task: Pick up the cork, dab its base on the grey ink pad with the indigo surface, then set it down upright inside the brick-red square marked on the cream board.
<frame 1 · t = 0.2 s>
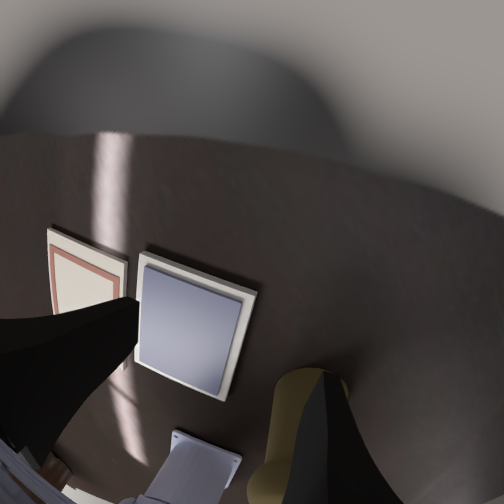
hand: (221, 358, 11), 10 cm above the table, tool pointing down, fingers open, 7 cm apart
cork: (311, 393, 23), on the table
marked board: (85, 300, 26), on the table
plant pot: (56, 459, 53), on the table
ink pad: (187, 331, 24), on the table
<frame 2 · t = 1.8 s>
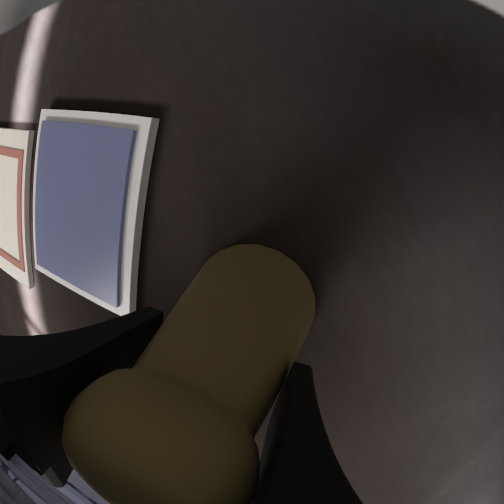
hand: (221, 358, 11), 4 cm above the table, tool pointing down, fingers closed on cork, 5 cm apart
cork: (254, 302, 15), on the table, touching gripper
marked board: (0, 200, 18), on the table
ink pad: (82, 206, 16), on the table
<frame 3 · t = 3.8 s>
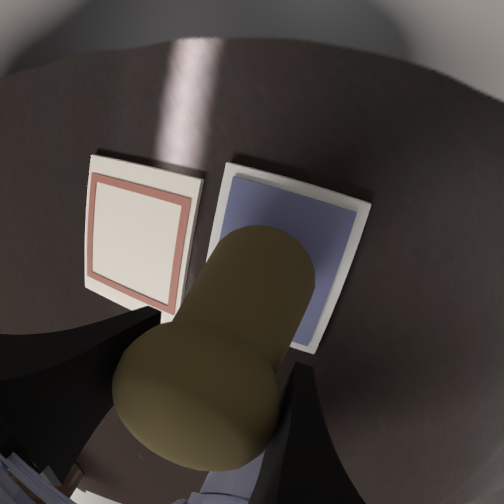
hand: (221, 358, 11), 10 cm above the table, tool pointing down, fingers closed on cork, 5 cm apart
cork: (261, 277, 17), point 3 cm above the table, touching gripper
marked board: (133, 241, 23), on the table
plant pot: (65, 458, 49), on the table
ink pad: (276, 262, 20), on the table
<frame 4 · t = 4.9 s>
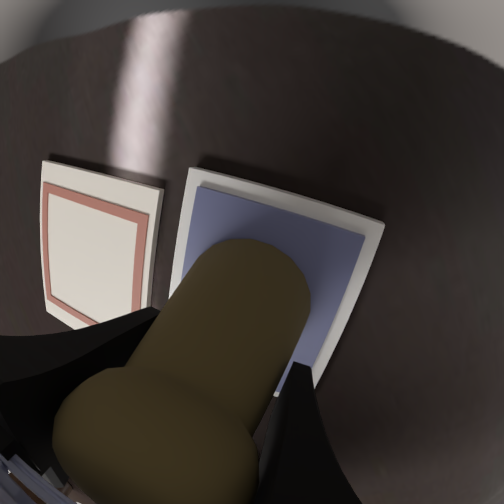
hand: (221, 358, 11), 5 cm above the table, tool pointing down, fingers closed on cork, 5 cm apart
cork: (247, 298, 15), point 1 cm above the table, touching gripper, ink pad
marked board: (90, 263, 18), on the table
plant pot: (53, 471, 44), on the table
ink pad: (257, 297, 15), on the table
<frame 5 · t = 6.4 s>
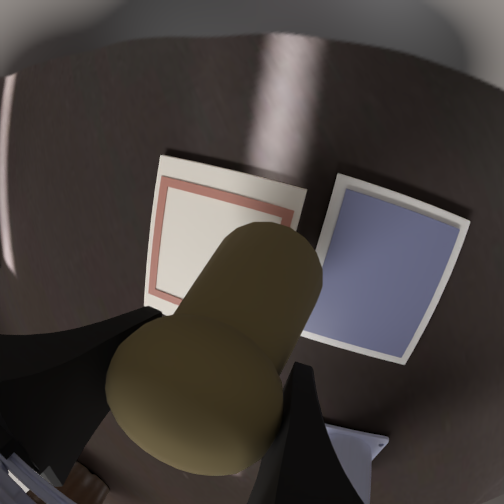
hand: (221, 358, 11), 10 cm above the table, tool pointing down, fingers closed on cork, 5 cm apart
cork: (267, 275, 17), point 4 cm above the table, touching gripper
marked board: (213, 255, 21), on the table
plant pot: (89, 474, 48), on the table
ink pad: (378, 277, 19), on the table
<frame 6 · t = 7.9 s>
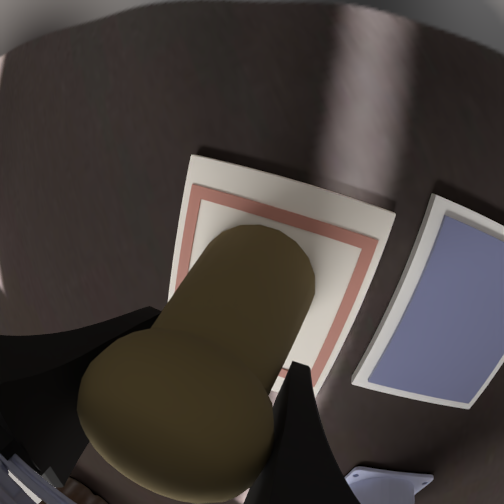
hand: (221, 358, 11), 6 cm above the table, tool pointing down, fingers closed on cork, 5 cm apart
cork: (255, 282, 16), resting on marked board, touching gripper
marked board: (261, 291, 16), on the table
plant pot: (91, 493, 42), on the table
ink pad: (460, 319, 14), on the table
when the fingers open (6 cm above the table, at t = 8.3 s): cork stays where it is, resting on marked board.
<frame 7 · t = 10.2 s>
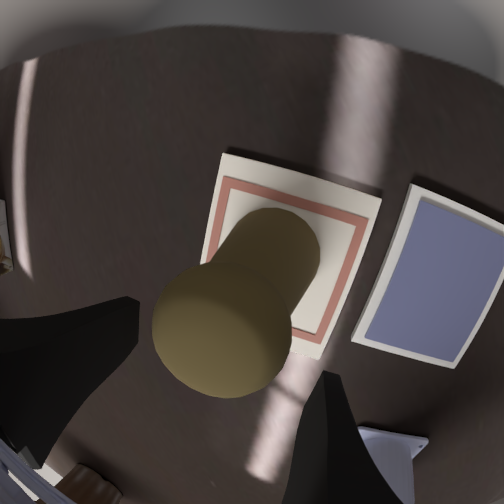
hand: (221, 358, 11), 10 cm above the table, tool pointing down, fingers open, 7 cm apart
cork: (273, 253, 20), resting on marked board
marked board: (277, 262, 20), on the table
plant pot: (100, 480, 47), on the table
ink pad: (439, 285, 18), on the table
coffee box: (0, 232, 29), on the table
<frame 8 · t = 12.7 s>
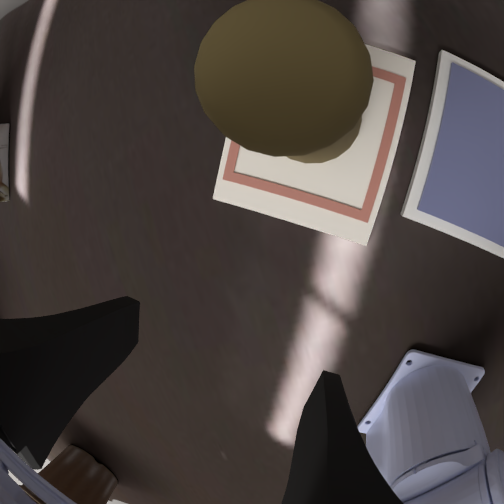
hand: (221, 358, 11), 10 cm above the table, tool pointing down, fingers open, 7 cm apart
cork: (310, 113, 17), resting on marked board
marked board: (314, 125, 17), on the table
plant pot: (94, 464, 43), on the table
ink pad: (483, 157, 14), on the table
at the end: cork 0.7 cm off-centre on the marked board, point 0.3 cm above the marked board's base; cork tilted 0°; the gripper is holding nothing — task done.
